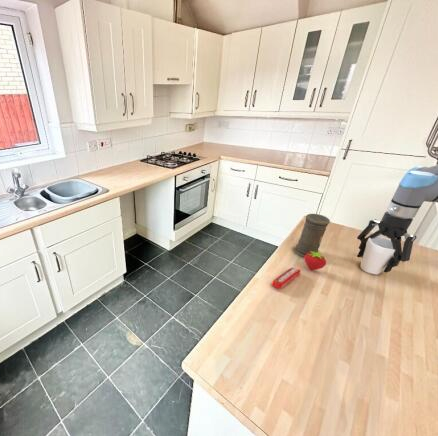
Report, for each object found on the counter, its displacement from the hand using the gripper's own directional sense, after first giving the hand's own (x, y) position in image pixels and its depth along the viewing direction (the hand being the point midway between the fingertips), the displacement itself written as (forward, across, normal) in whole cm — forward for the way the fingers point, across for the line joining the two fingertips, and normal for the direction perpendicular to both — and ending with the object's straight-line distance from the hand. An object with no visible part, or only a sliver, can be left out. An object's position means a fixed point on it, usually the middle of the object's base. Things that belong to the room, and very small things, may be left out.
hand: (372, 263), depth 98 cm
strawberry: (+3, -7, -23) cm, 24 cm away
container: (+3, -17, -15) cm, 23 cm away
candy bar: (+3, -6, -37) cm, 38 cm away
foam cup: (+3, 0, 0) cm, 3 cm away
